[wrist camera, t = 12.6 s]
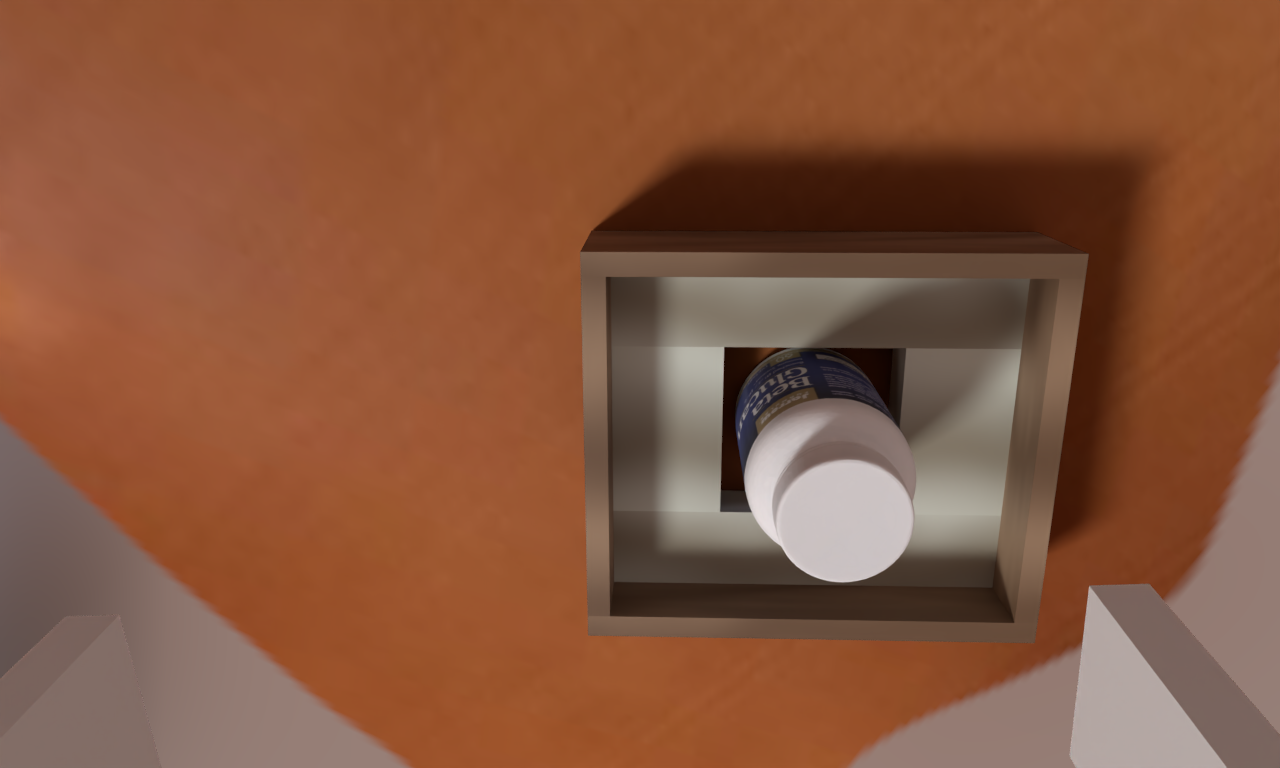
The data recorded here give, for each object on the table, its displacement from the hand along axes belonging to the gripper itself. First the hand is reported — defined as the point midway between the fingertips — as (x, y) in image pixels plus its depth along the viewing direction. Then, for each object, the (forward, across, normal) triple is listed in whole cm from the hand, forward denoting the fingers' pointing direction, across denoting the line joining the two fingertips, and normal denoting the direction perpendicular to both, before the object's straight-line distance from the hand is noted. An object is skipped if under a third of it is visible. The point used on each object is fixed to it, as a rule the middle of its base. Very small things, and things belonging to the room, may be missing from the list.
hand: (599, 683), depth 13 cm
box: (+24, +6, -6) cm, 25 cm away
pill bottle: (+24, +6, -5) cm, 25 cm away
